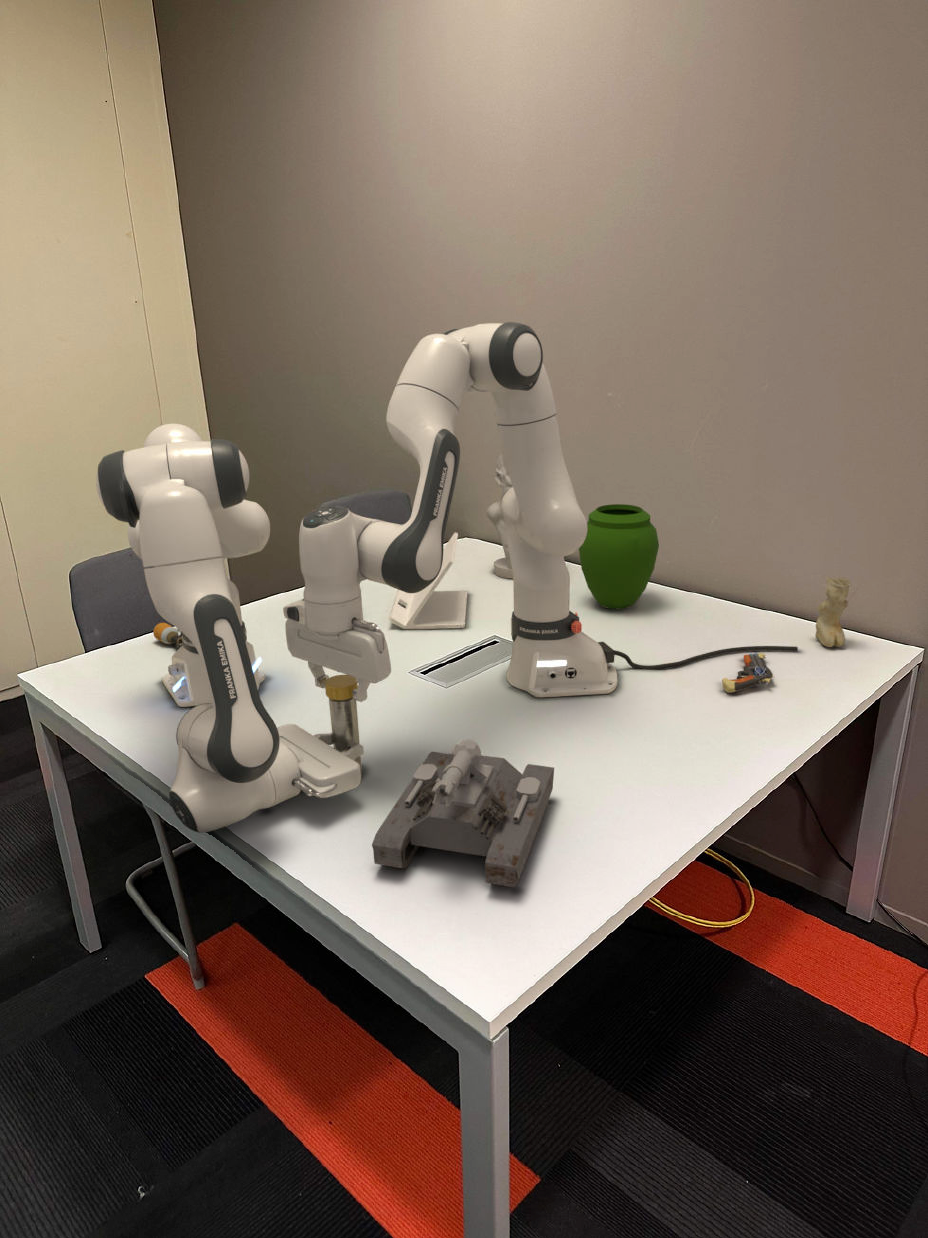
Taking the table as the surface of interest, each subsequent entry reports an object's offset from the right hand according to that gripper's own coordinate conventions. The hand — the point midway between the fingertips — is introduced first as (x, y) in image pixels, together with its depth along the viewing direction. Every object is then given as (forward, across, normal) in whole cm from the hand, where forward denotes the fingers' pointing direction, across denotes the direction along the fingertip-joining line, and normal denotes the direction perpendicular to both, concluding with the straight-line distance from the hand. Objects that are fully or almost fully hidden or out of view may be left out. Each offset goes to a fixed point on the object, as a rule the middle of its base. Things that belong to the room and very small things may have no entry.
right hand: (341, 693), depth 137 cm
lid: (-2, 0, 0) cm, 2 cm away
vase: (+15, +3, -96) cm, 98 cm away
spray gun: (+14, +74, -22) cm, 79 cm away
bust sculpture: (+15, +35, -104) cm, 111 cm away
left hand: (+9, 0, -1) cm, 9 cm away
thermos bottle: (+14, 0, 0) cm, 14 cm away
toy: (+14, -27, +2) cm, 31 cm away
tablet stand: (+14, +39, -67) cm, 79 cm away
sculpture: (+15, -48, -100) cm, 112 cm away
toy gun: (+14, -40, -73) cm, 84 cm away
